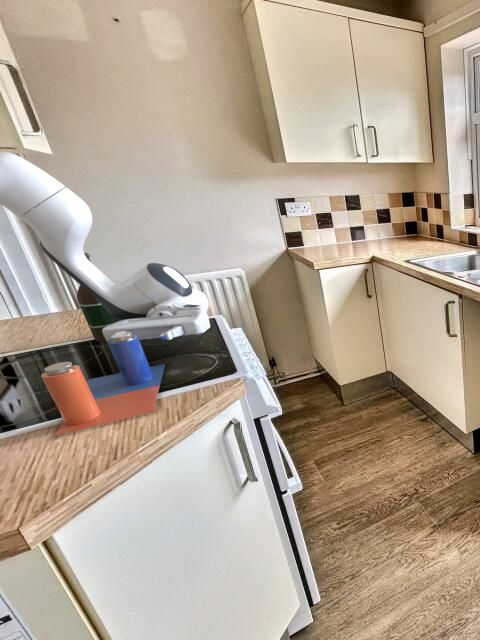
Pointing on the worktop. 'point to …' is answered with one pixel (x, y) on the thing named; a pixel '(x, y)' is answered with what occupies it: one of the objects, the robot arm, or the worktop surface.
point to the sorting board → (119, 399)
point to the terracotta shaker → (70, 393)
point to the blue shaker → (130, 358)
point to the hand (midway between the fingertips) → (141, 339)
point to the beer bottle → (94, 312)
